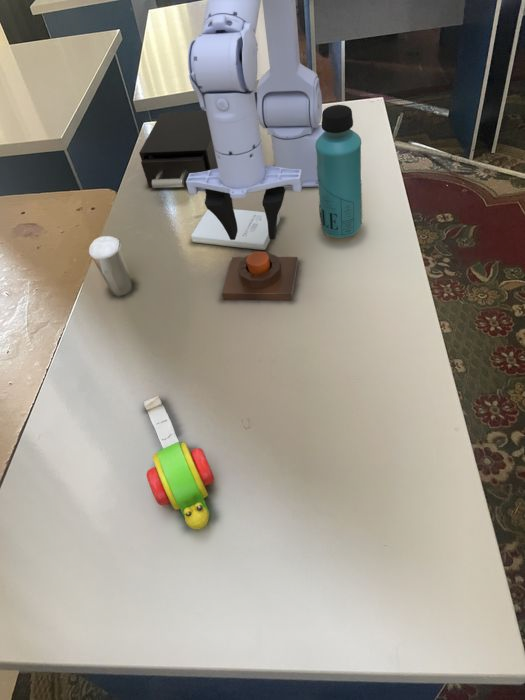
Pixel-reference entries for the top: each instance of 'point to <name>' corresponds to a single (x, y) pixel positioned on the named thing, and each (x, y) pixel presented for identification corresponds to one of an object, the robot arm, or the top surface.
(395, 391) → the top surface
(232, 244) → the hard drive
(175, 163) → the black drawer
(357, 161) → the beverage bottle
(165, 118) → the small drawer cabinet
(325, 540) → the top surface
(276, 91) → the robot arm
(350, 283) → the top surface
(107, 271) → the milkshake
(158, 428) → the toy measuring tape
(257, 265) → the release button
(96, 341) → the top surface
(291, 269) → the control block
